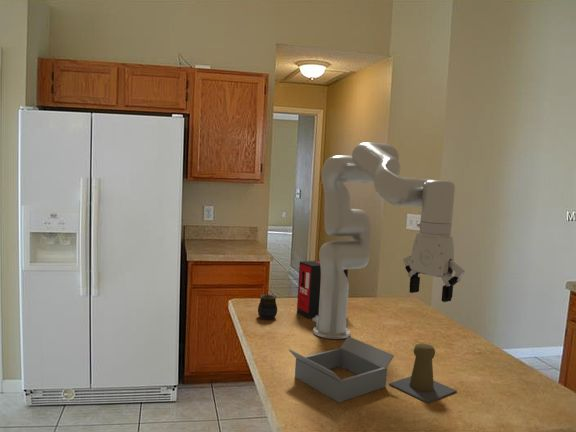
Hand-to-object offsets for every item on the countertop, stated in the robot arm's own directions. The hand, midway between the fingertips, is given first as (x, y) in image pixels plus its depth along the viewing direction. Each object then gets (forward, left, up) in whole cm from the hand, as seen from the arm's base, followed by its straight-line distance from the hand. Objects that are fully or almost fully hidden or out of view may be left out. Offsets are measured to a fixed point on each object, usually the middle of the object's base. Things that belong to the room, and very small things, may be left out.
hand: (429, 296), depth 123 cm
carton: (-14, -16, -24) cm, 32 cm away
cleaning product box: (-64, +22, -24) cm, 72 cm away
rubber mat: (0, 0, -24) cm, 24 cm away
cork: (0, 0, -24) cm, 24 cm away
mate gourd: (-69, 0, -24) cm, 73 cm away
